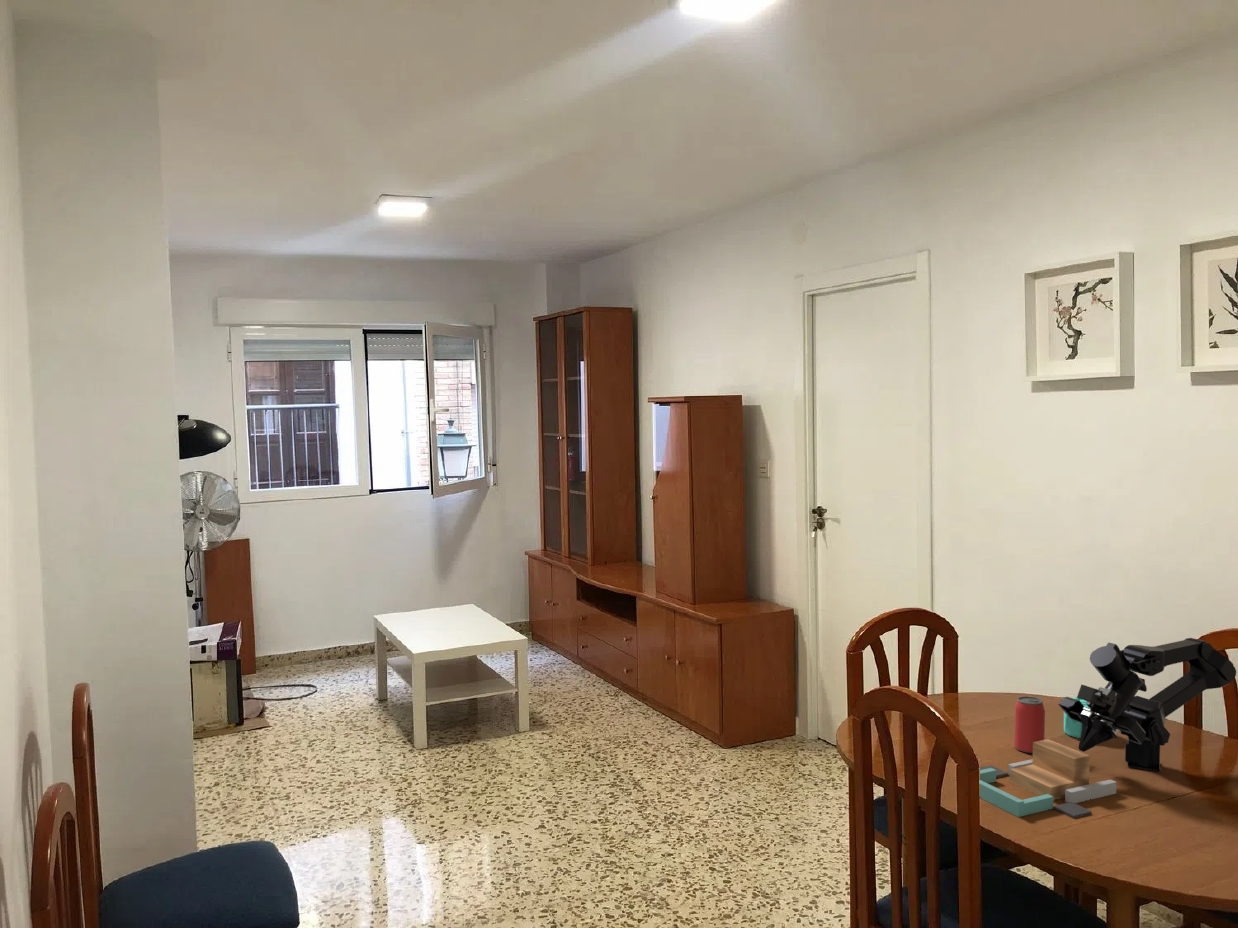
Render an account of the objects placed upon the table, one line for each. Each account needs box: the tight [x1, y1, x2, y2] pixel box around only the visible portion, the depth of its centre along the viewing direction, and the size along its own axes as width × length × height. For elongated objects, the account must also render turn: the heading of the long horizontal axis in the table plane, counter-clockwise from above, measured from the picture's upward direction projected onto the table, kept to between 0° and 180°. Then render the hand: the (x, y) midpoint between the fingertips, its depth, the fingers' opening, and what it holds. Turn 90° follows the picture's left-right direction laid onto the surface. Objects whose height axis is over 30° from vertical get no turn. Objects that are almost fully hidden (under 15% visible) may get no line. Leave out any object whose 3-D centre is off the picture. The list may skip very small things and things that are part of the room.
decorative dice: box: [1063, 697, 1096, 739], centre depth 241 cm, size 8×8×8 cm
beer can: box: [1013, 695, 1046, 754], centre depth 231 cm, size 7×7×12 cm
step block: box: [1009, 738, 1091, 801], centre depth 209 cm, size 11×11×8 cm
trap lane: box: [979, 758, 1117, 819], centre depth 208 cm, size 28×27×3 cm
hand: (1080, 750), depth 212 cm, fingers closed
